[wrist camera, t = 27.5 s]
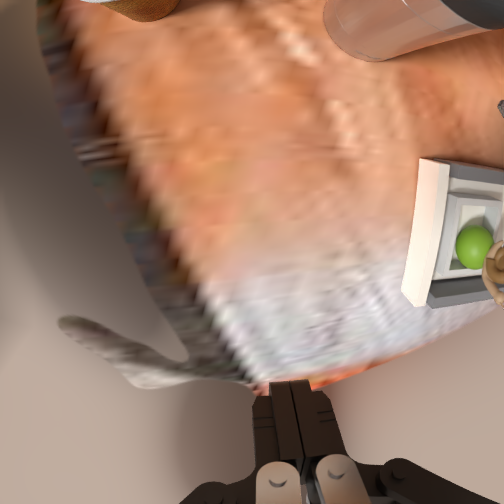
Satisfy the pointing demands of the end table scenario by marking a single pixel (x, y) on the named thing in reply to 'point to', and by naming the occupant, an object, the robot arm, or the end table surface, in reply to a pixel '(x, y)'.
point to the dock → (470, 286)
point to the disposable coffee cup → (140, 8)
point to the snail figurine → (482, 257)
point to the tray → (446, 226)
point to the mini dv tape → (501, 107)
